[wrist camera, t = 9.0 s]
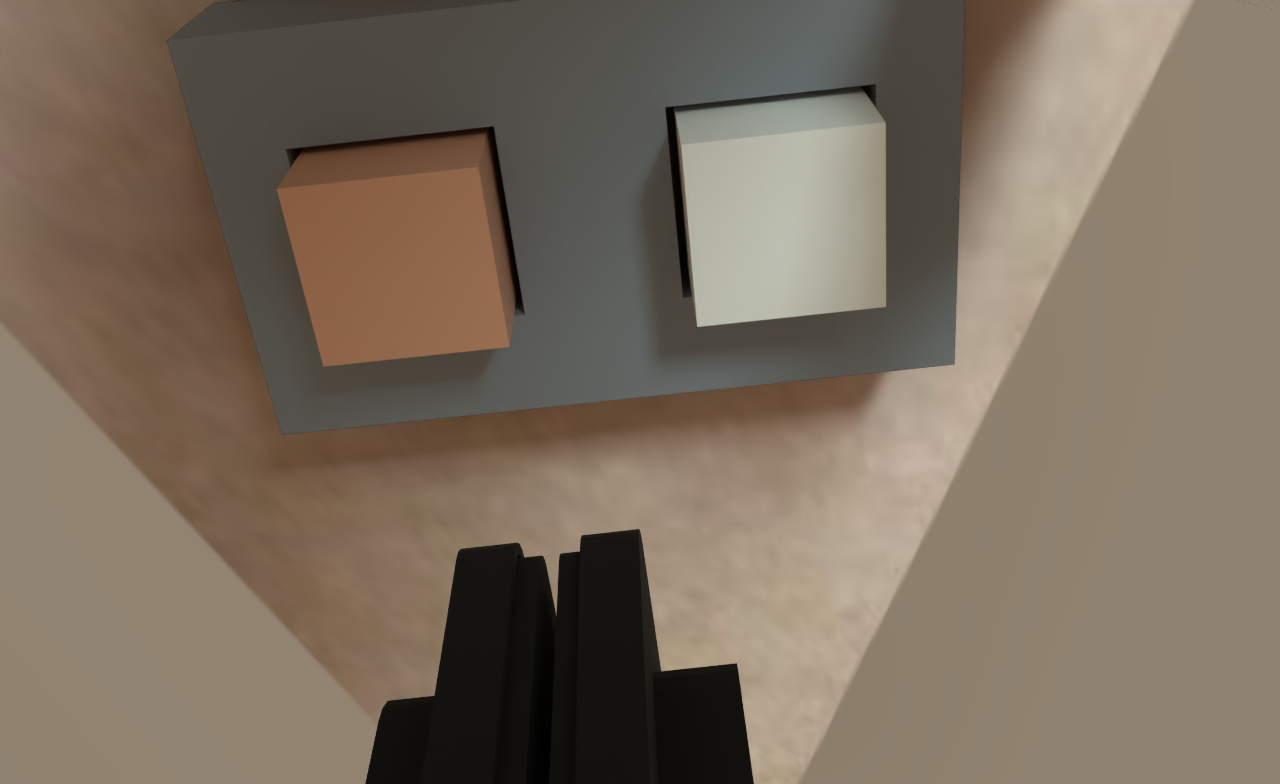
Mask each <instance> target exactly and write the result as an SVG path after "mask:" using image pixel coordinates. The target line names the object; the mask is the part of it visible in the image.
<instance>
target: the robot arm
mask: <svg viewBox="0 0 1280 784" xmlns="http://www.w3.org/2000/svg"><path fill="white" fill-rule="evenodd" d="M366 784H754V782H753V775H752V768H751V761H750V753H749V746H748V739H747V732H746V724H745V717H744V710H743V703H742V695H741V688H740V681H739V674H738V668H737V663H736V664H727V665H718V666H708V667H699V668H690V669H680V670H671V671H662V672H661V667H660V660H659V653H658V647H657V640H656V633H655V626H654V619H653V613H652V606H651V599H650V592H649V585H648V578H647V572H646V565H645V558H644V551H643V544H642V538H641V533H640V530H639V529H636V530H627V531H618V532H609V533H600V534H591V535H582V537H581V543H580V552H571V553H562V554H560V558H559V575H558V597H557V617H556V612H555V607H554V602H553V597H552V592H551V587H550V582H549V577H548V572H547V567H546V563H545V560H544V557H543V556H535V557H526V558H524V555H523V551H522V548H521V546H520V544H519V543H510V544H501V545H493V546H484V547H475V548H466V549H460V551H459V552H458V555H457V559H456V565H455V571H454V578H453V584H452V590H451V596H450V603H449V609H448V615H447V621H446V628H445V634H444V640H443V646H442V653H441V659H440V665H439V671H438V678H437V684H436V690H435V696H429V697H419V698H410V699H401V700H391V701H387V703H386V704H385V706H384V707H383V709H382V712H381V715H380V719H379V722H378V726H377V731H376V736H375V741H374V746H373V750H372V755H371V760H370V765H369V769H368V774H367V779H366Z"/></svg>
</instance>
